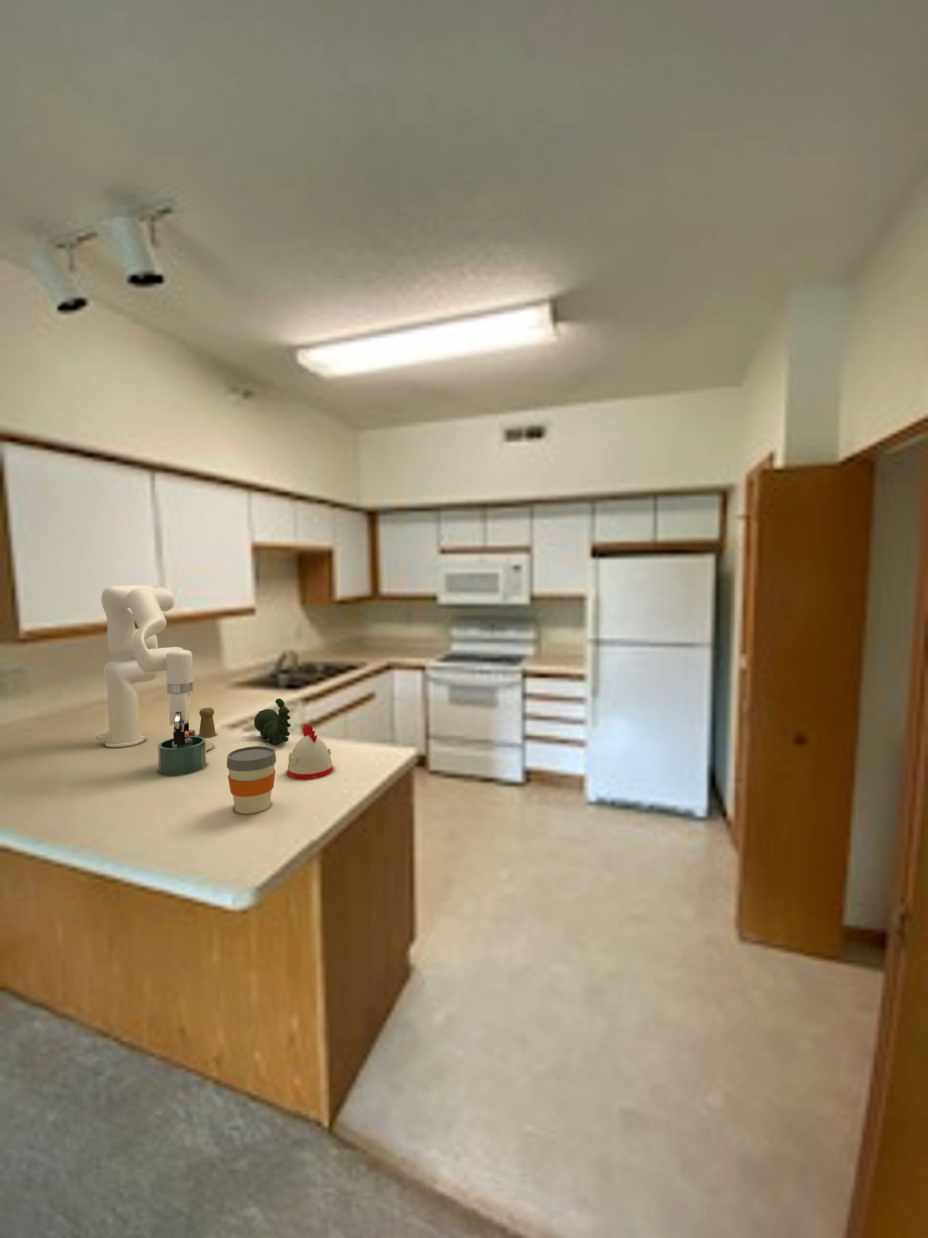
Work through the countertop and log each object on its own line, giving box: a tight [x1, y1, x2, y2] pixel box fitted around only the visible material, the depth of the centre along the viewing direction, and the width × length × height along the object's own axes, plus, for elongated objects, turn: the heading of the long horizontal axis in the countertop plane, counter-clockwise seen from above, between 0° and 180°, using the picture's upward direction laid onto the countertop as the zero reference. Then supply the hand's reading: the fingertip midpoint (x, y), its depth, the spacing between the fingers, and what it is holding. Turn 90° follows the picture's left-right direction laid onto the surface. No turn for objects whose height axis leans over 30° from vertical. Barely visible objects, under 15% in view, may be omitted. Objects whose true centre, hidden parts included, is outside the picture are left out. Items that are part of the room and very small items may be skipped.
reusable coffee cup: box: [226, 745, 277, 815], centre depth 144 cm, size 13×13×15 cm
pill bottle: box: [172, 731, 193, 748], centre depth 172 cm, size 6×6×11 cm
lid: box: [189, 729, 214, 752], centre depth 190 cm, size 15×15×7 cm
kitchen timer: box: [287, 724, 333, 780], centre depth 170 cm, size 14×14×15 cm
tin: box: [157, 735, 207, 776], centre depth 172 cm, size 14×14×8 cm
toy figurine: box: [253, 698, 292, 745], centre depth 202 cm, size 9×19×25 cm
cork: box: [198, 707, 217, 739], centre depth 207 cm, size 6×6×11 cm
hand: (181, 739), depth 172 cm, fingers open, 9 cm apart
